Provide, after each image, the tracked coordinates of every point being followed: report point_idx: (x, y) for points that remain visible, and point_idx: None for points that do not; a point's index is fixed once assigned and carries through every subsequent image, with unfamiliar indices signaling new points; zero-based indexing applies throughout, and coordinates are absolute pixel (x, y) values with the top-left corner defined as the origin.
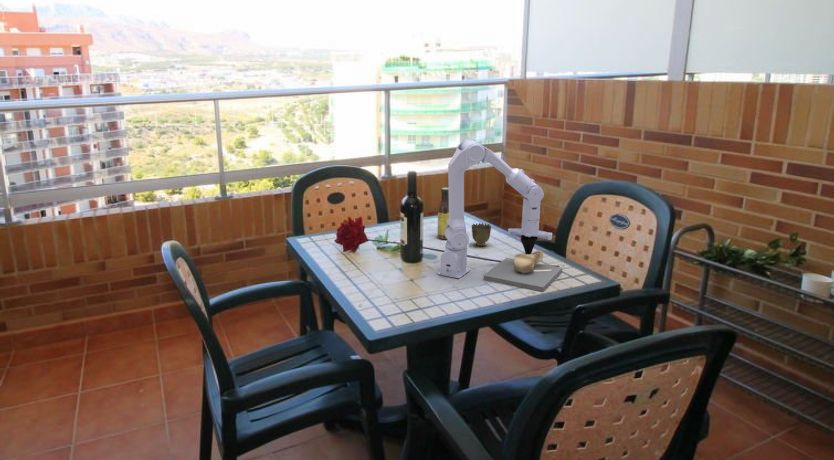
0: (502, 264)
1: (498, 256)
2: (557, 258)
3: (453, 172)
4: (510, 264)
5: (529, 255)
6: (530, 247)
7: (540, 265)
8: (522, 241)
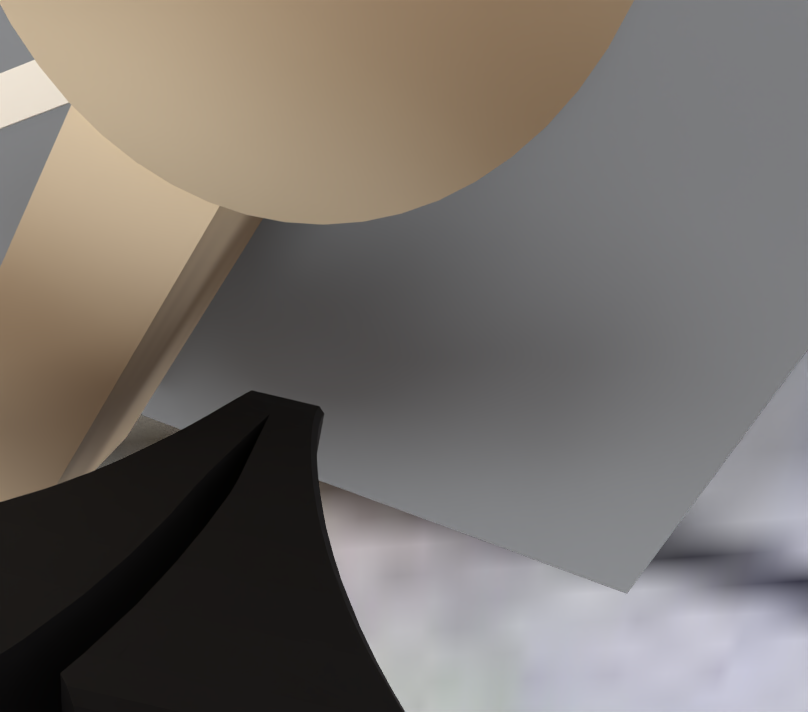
0: (751, 306)
1: (685, 696)
2: None
3: None
4: (601, 326)
5: (149, 104)
6: (108, 499)
7: None
8: (335, 689)
